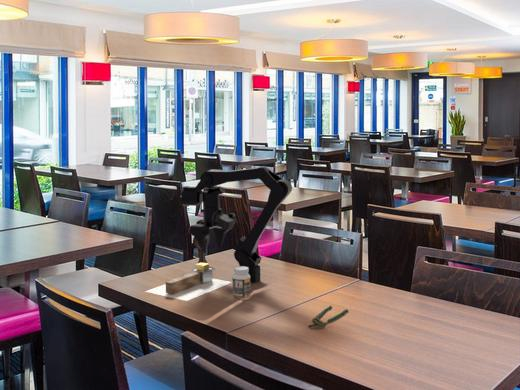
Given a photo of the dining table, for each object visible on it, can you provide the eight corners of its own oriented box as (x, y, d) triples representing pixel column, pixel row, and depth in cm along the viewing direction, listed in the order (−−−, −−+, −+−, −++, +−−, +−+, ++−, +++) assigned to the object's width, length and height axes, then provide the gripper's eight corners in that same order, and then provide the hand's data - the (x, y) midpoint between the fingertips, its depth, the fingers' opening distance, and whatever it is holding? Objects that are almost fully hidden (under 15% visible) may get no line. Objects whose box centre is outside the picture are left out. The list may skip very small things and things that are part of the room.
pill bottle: (248, 301, 193) (248, 270, 191) (230, 300, 194) (230, 269, 192) (252, 295, 198) (252, 266, 197) (235, 295, 199) (234, 265, 198)
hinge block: (202, 279, 214) (202, 266, 214) (212, 281, 212) (212, 268, 211) (193, 282, 210) (192, 270, 209) (203, 284, 208) (202, 271, 207)
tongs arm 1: (193, 282, 209) (193, 272, 208) (196, 282, 208) (196, 272, 208) (165, 292, 197) (165, 282, 197) (168, 293, 197) (168, 282, 196)
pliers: (330, 308, 187) (330, 304, 187) (349, 312, 184) (349, 307, 183) (299, 328, 170) (299, 323, 170) (321, 332, 167) (321, 327, 167)
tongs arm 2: (196, 283, 208) (196, 272, 208) (199, 283, 207) (199, 273, 207) (168, 293, 197) (168, 282, 196) (171, 294, 196) (171, 283, 195)
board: (232, 285, 210) (232, 282, 210) (186, 304, 190) (186, 300, 190) (192, 277, 220) (192, 274, 220) (144, 294, 200) (144, 291, 200)
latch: (201, 267, 212) (201, 262, 212) (209, 268, 210) (209, 263, 210) (195, 269, 210) (195, 264, 210) (203, 270, 208) (203, 265, 208)
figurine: (197, 268, 233) (195, 221, 230) (189, 265, 236) (188, 219, 234) (213, 264, 237) (212, 219, 235) (205, 262, 241) (204, 217, 238)
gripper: (213, 212, 200) (214, 259, 202) (245, 204, 215) (246, 247, 217) (187, 209, 206) (188, 255, 208) (220, 201, 221) (221, 244, 223)
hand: (212, 250), depth 214 cm, fingers open, 8 cm apart
